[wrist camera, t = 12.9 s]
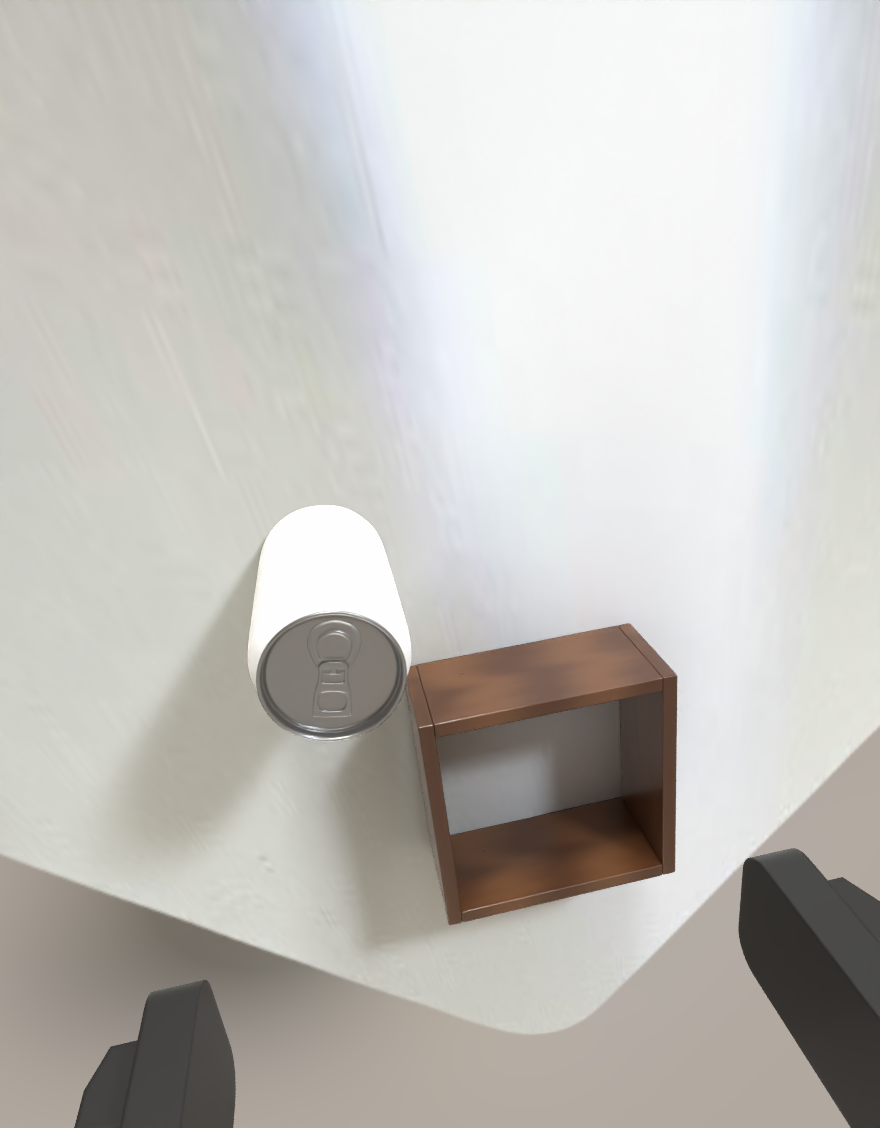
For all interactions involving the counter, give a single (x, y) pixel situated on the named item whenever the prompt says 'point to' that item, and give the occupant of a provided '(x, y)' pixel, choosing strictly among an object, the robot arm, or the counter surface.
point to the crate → (565, 838)
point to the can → (327, 627)
